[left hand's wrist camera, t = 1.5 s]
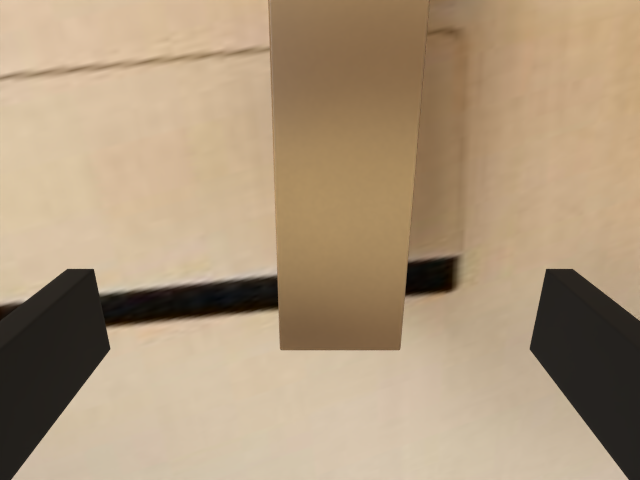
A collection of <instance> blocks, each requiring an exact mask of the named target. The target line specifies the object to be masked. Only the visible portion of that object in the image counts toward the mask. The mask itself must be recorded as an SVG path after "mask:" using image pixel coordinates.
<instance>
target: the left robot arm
mask: <svg viewBox="0 0 640 480" xmlns="http://www.w3.org/2000/svg"><path fill="white" fill-rule="evenodd" d="M109 350H110V345H109V340H108V335H107V330H106V326H105V321H104V316H103V311H102V306H101V302H100V297H99V292H98V287H97V282H96V277H95V273H94V269H67V270H65V271H64V272H63V273H62V274H60V275H59V276H58V277H56V278H55V279H54V280H53V281H51V282H50V283H49V284H47V285H46V286H45V287H44V288H42V289H41V290H40V291H38V292H37V293H36V294H35V295H33V296H32V297H31V298H29V299H28V300H27V301H25V302H24V303H23V304H22V305H20V306H19V307H18V308H16V309H15V310H14V311H13V312H11V313H10V314H9V315H7V316H6V317H5V318H4V319H2V320H1V321H0V480H11V479H12V478H13V477H14V475H15V474H16V473H17V471H18V470H19V469H20V467H21V466H22V465H23V463H24V462H25V461H26V459H27V458H28V457H29V456H30V454H31V453H32V452H33V450H34V449H35V448H36V446H37V445H38V444H39V442H40V441H41V440H42V438H43V437H44V436H45V434H46V433H47V432H48V430H49V429H50V428H51V427H52V425H53V424H54V423H55V421H56V420H57V419H58V417H59V416H60V415H61V413H62V412H63V411H64V409H65V408H66V407H67V405H68V404H69V403H70V402H71V400H72V399H73V398H74V396H75V395H76V394H77V392H78V391H79V390H80V388H81V387H82V386H83V384H84V383H85V382H86V380H87V379H88V378H89V377H90V375H91V374H92V373H93V371H94V370H95V369H96V367H97V366H98V365H99V363H100V362H101V361H102V359H103V358H104V357H105V355H106V354H107V353H108V352H109ZM530 350H531V352H532V353H533V354H534V355H535V357H536V358H537V359H538V361H539V362H540V363H541V365H542V366H543V367H544V369H545V370H546V371H547V373H548V374H549V375H550V377H551V378H552V379H553V380H554V382H555V383H556V384H557V386H558V387H559V388H560V390H561V391H562V392H563V394H564V395H565V396H566V398H567V399H568V400H569V402H570V403H571V404H572V405H573V407H574V408H575V409H576V411H577V412H578V413H579V415H580V416H581V417H582V419H583V420H584V421H585V423H586V424H587V425H588V427H589V428H590V429H591V430H592V432H593V433H594V434H595V436H596V437H597V438H598V440H599V441H600V442H601V444H602V445H603V446H604V448H605V449H606V450H607V452H608V453H609V454H610V456H611V457H612V458H613V459H614V461H615V462H616V463H617V465H618V466H619V467H620V469H621V470H622V471H623V473H624V474H625V475H626V477H627V478H628V479H629V480H640V321H639V320H638V319H636V318H635V317H634V316H633V315H631V314H630V313H629V312H627V311H626V310H625V309H624V308H622V307H621V306H620V305H618V304H617V303H616V302H615V301H613V300H612V299H611V298H609V297H608V296H607V295H605V294H604V293H603V292H602V291H600V290H599V289H598V288H596V287H595V286H594V285H593V284H591V283H590V282H589V281H587V280H586V279H585V278H584V277H582V276H581V275H580V274H578V273H577V272H576V271H575V270H573V269H546V273H545V277H544V282H543V287H542V292H541V297H540V302H539V306H538V311H537V316H536V321H535V326H534V330H533V335H532V340H531V345H530Z"/></svg>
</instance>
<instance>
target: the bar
mask: <svg viewBox="0 0 640 480" xmlns="http://www.w3.org/2000/svg"><path fill="white" fill-rule="evenodd" d="M429 2H430V0H268V3H269V33H270V63H271V93H272V123H273V154H274V184H275V214H276V244H277V274H278V304H279V334H280V349H281V350H400V347H401V335H402V323H403V311H404V299H405V288H406V276H407V264H408V252H409V240H410V228H411V216H412V204H413V192H414V181H415V169H416V157H417V145H418V133H419V121H420V109H421V97H422V86H423V74H424V62H425V50H426V38H427V26H428V14H429Z"/></svg>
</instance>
